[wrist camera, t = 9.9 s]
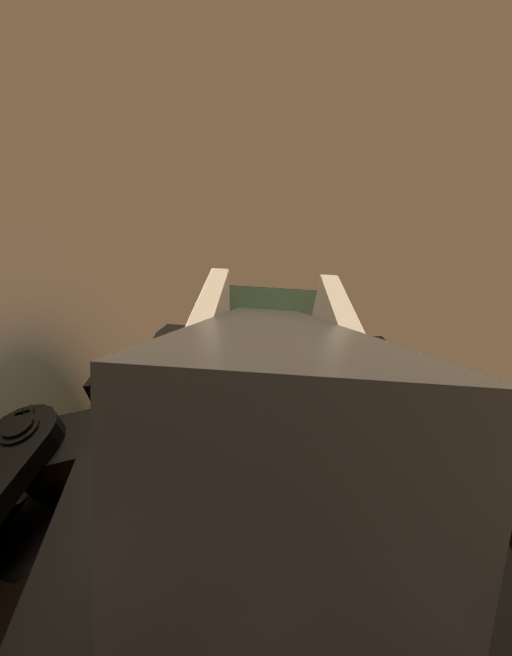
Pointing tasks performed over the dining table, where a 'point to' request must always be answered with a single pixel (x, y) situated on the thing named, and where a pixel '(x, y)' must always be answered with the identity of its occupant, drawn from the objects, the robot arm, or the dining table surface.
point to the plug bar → (295, 491)
